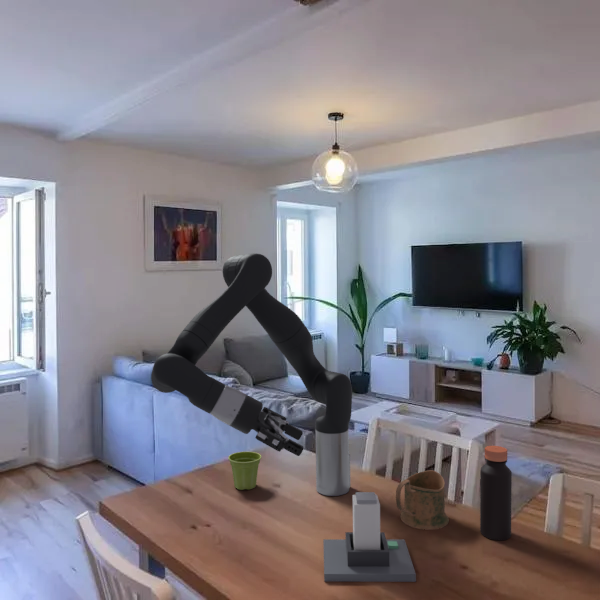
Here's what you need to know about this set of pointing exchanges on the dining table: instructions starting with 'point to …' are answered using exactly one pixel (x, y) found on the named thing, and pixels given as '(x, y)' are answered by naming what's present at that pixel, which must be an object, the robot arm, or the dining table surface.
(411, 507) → the mug
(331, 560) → the dock
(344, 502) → the dining table surface
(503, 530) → the bottle
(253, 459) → the plant pot
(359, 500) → the grey tall block
